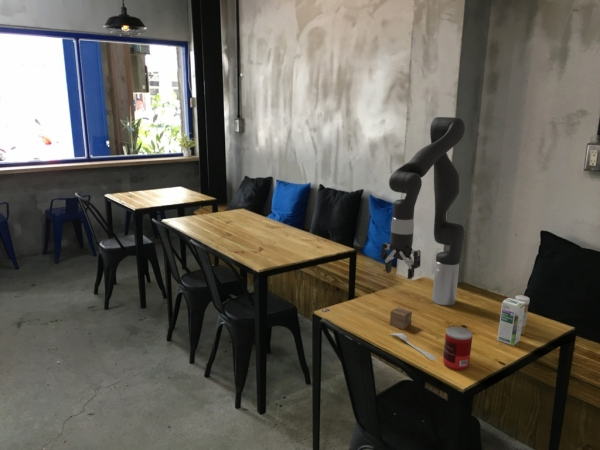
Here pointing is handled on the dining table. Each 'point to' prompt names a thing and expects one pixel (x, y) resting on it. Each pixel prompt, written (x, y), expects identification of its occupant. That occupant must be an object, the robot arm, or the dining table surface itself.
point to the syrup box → (511, 321)
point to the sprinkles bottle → (526, 300)
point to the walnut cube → (400, 318)
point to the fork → (414, 346)
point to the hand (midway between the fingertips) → (399, 275)
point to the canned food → (457, 348)
